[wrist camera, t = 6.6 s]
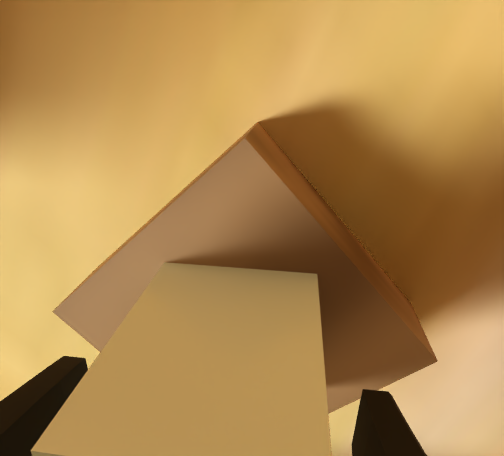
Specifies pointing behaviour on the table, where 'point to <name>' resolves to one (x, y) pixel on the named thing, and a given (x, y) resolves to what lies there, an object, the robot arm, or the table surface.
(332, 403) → the walnut box
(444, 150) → the table surface
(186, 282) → the cream cube with panel
